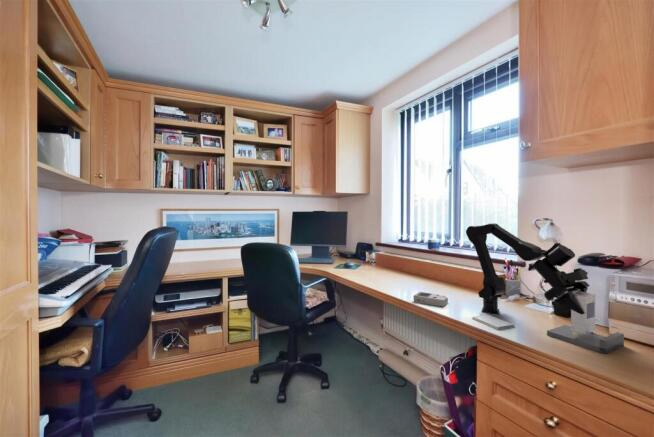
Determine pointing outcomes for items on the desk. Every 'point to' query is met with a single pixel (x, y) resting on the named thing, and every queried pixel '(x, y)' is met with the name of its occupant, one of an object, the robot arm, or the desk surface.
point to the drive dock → (589, 339)
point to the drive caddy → (586, 320)
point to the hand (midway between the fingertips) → (588, 312)
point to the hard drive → (493, 322)
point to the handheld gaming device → (430, 299)
